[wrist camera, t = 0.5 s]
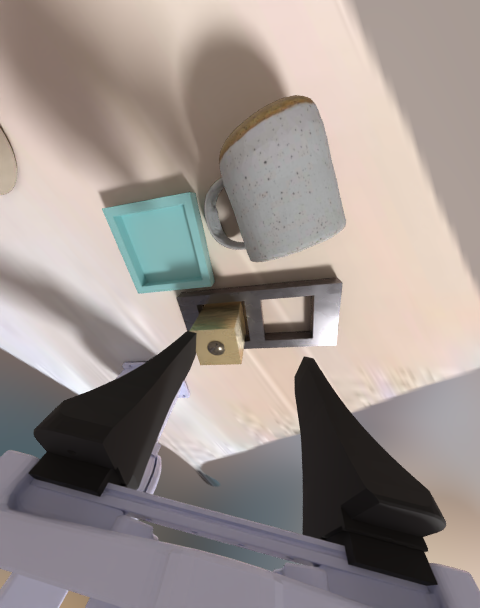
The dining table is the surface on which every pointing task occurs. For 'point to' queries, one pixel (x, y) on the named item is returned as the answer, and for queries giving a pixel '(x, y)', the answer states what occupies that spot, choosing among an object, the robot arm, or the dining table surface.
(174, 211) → the tray
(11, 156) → the travel mug
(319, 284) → the grey flat frame
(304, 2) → the dining table surface
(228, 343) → the block
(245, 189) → the ceramic mug
